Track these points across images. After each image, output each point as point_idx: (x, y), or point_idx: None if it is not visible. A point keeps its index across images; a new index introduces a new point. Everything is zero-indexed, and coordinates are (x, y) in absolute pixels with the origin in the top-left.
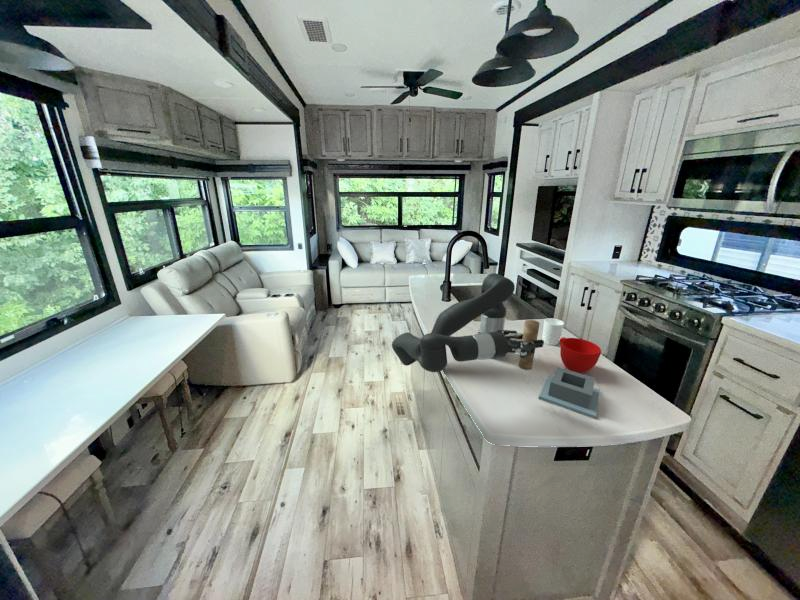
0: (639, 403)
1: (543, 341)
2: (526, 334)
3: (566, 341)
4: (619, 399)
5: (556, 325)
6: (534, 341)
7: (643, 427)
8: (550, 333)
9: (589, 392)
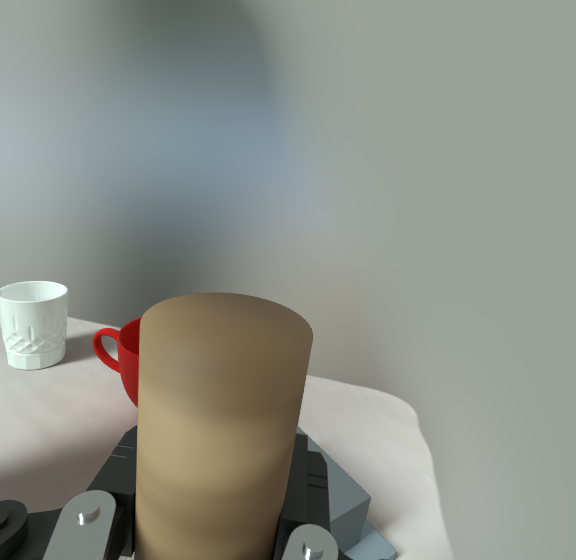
0: (345, 411)
1: (306, 440)
2: (228, 502)
3: (123, 338)
4: (322, 430)
5: (51, 299)
6: (307, 509)
7: (428, 474)
8: (38, 332)
9: (352, 488)
